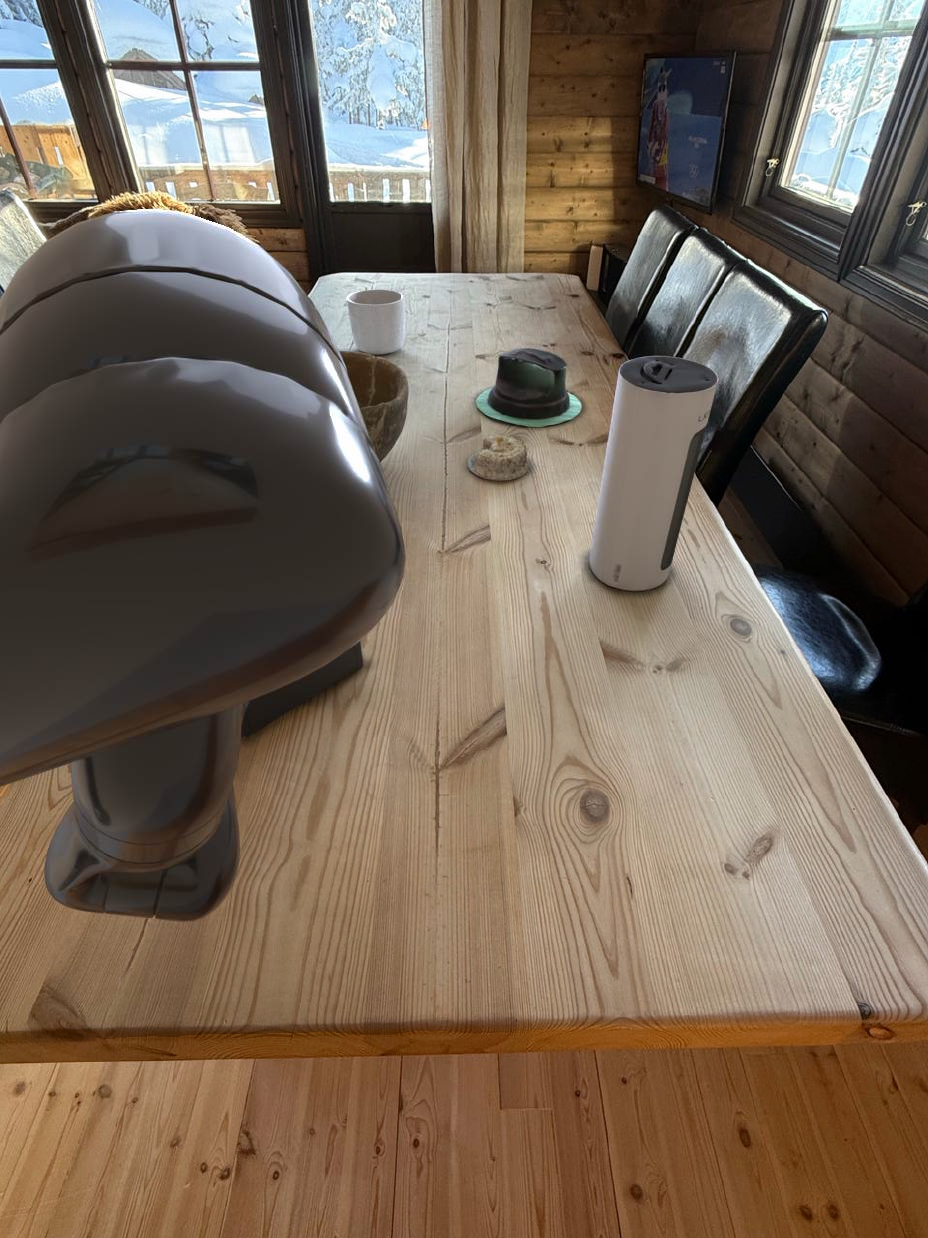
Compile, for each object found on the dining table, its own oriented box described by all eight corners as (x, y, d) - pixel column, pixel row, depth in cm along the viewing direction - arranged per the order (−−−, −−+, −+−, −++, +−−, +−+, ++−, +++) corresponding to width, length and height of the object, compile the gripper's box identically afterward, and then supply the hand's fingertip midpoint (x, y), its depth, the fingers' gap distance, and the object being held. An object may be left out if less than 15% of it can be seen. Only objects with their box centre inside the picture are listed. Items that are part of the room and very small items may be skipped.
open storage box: (245, 738, 65) (227, 686, 60) (177, 663, 73) (156, 611, 68) (363, 665, 72) (356, 613, 67) (290, 604, 80) (279, 554, 75)
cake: (528, 456, 111) (533, 426, 107) (527, 486, 103) (532, 455, 100) (470, 449, 111) (473, 418, 107) (464, 478, 103) (467, 447, 100)
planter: (377, 362, 142) (372, 308, 135) (341, 349, 149) (334, 297, 141) (418, 348, 149) (416, 296, 142) (382, 335, 155) (378, 285, 148)
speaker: (646, 604, 80) (696, 395, 63) (572, 573, 85) (599, 371, 68) (681, 563, 87) (735, 363, 70) (610, 536, 91) (644, 343, 74)
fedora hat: (600, 390, 128) (567, 434, 115) (520, 418, 139) (481, 461, 126) (571, 314, 122) (532, 351, 108) (489, 351, 133) (445, 388, 120)
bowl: (219, 519, 95) (190, 420, 85) (257, 436, 115) (237, 349, 105) (410, 516, 95) (404, 417, 86) (415, 434, 116) (410, 346, 106)
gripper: (292, 623, 50) (315, 508, 63) (99, 633, 49) (162, 515, 62) (308, 691, 55) (326, 572, 68) (132, 700, 54) (184, 578, 67)
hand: (247, 545), depth 65 cm, fingers closed on supplement bottle, 5 cm apart
